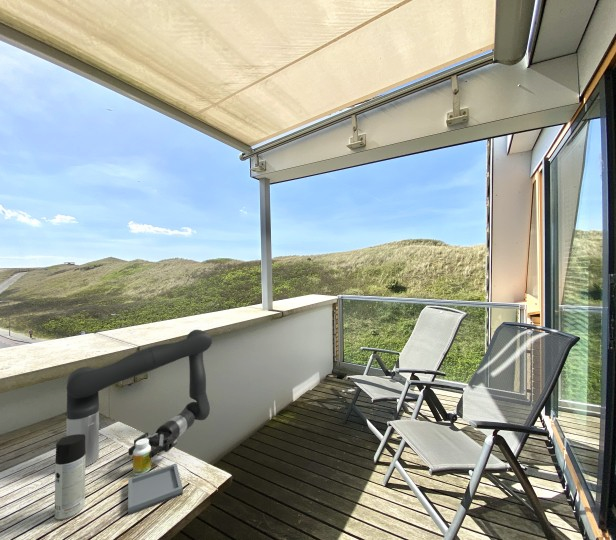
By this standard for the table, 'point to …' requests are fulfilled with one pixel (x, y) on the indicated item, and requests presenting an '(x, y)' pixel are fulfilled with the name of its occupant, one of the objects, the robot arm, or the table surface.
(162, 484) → the tray
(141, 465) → the supplement bottle
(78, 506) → the spray can
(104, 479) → the table surface
